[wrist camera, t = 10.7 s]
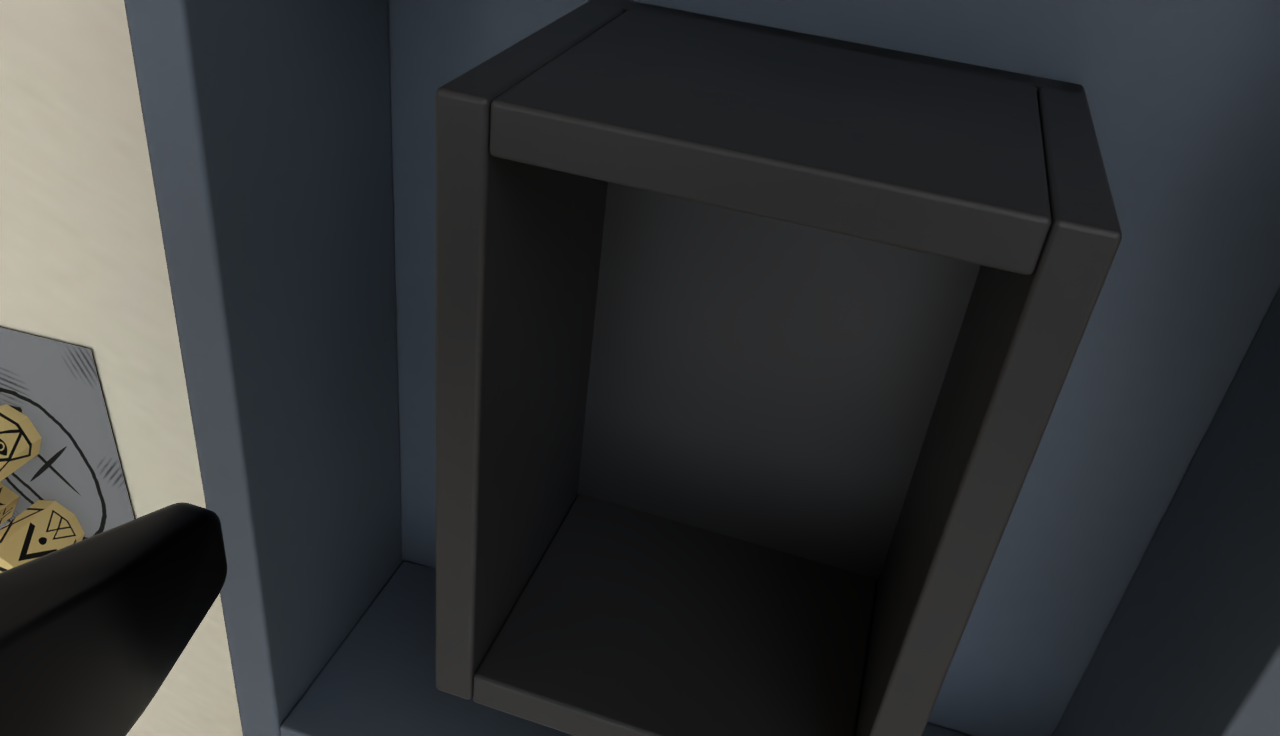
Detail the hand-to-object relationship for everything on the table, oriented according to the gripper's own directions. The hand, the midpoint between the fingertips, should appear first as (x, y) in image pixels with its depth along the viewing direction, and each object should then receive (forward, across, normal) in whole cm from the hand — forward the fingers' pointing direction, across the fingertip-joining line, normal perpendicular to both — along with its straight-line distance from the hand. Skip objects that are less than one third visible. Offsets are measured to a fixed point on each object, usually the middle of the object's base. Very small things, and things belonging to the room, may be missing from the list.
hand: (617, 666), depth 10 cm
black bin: (+7, 0, 0) cm, 7 cm away
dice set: (+8, +18, +9) cm, 22 cm away
